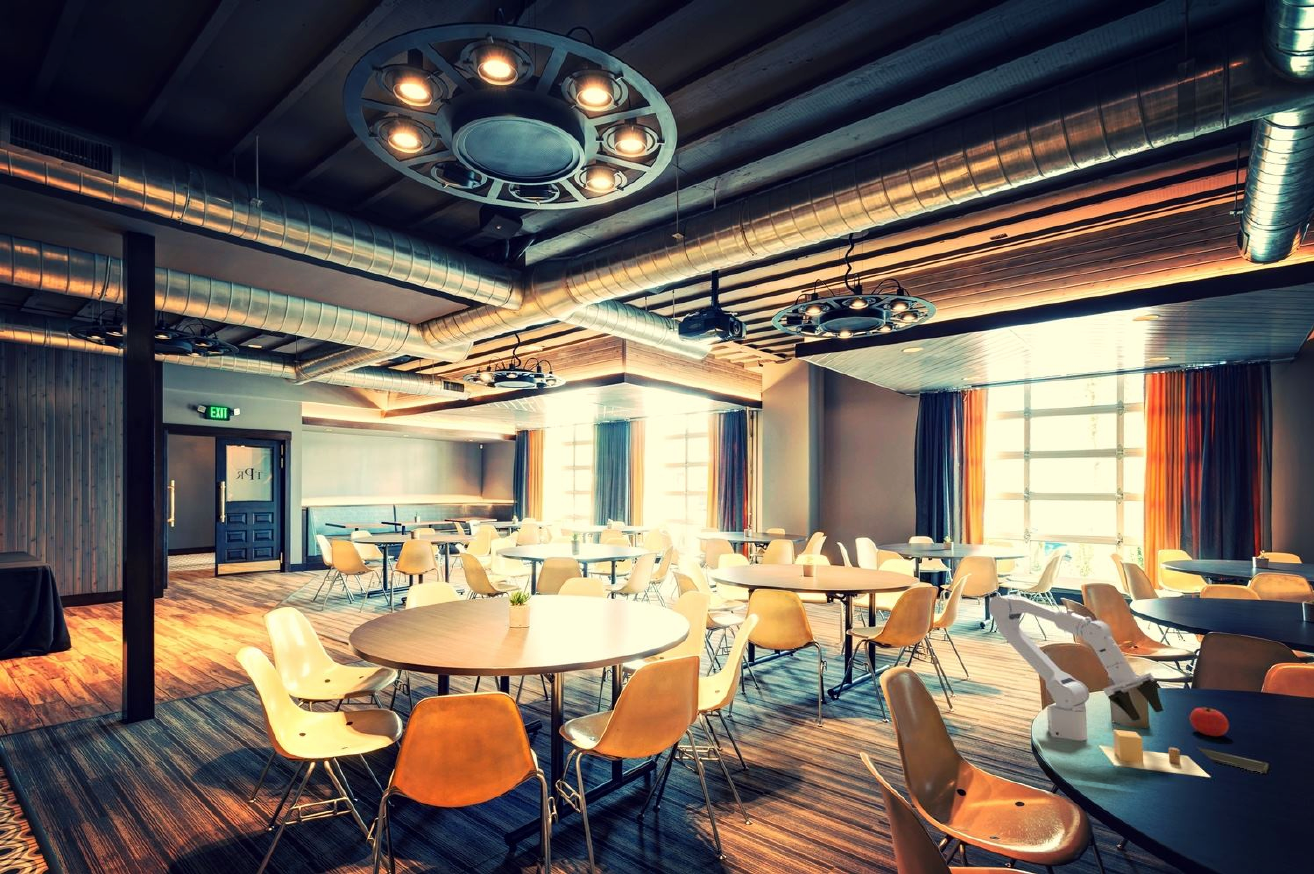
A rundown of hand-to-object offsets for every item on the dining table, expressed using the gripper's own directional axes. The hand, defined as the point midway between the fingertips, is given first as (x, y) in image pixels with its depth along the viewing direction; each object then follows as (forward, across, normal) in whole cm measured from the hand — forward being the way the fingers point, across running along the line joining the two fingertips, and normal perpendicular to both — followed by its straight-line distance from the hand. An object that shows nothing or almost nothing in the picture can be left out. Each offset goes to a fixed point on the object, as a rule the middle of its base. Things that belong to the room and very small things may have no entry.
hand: (1148, 715), depth 173 cm
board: (+10, -4, +4) cm, 12 cm away
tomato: (+11, +32, +21) cm, 40 cm away
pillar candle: (+2, +18, +30) cm, 35 cm away
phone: (+16, +18, +5) cm, 24 cm away
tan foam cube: (+8, -8, +5) cm, 12 cm away
